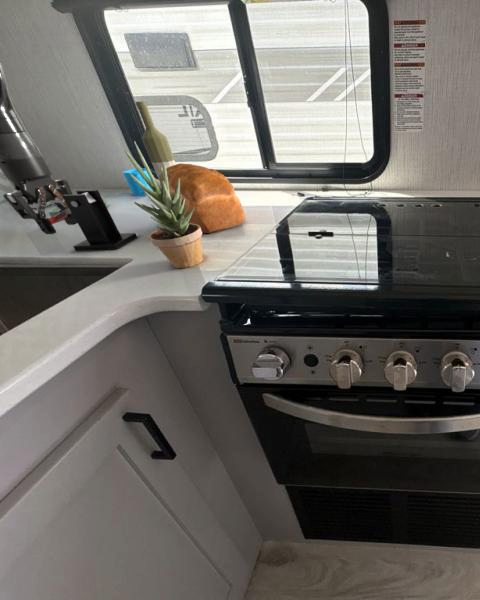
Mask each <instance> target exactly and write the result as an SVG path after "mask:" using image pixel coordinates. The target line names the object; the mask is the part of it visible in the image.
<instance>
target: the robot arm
mask: <svg viewBox="0 0 480 600" xmlns="http://www.w3.org/2000/svg"><path fill="white" fill-rule="evenodd" d="M0 170H1V172H2V174H3V175H4V177H5V178H6V180H7V179H8V180H10V181H11V182H13V183H14V186H15V191H14V190H13V191H11V192H5V193H3V195H2V196H3V198H4V199H5V200H6V201H7V202H8V203H9V205H10V206H11V207H12V208H13V210H14V211H15V212H16V213H17V214H18V215H19V216H20V218H22V219H23V220H34V221H35V223H36V224H37V226H38V227H39V229H40V230H41V232H42V233H44V234H45V235H55V234H56V233H57V230H56V229H55V227H54V224H51V222H50V220H49V219H48V218H49V217H47V214H46V213H47V212H46V209H47V206H46V203H47V202H50V203H51V204H52V205H53V206H54V207H55V208H56V207H57V208H58V209H61V210H59V212H60V213H61V212H62V211H64V210H65V209H67V208H68V206H67V204H66V202H65V200H64V199H63V197H62V196H63V195H73V194H74V193H73V192H72V188H71V186H70V184H69V181H68V180H67V179H64V178H63V179H54V178H52V175H53V172H52V170H51V168H50V166H49V165H48V163H47V162H46V160H45V158H44V155H43V154H42V153H41V150H40V149H39V147H38V145H37V143H36V142H35V140H34V139H33V138H32V136H31V135H30V134H29V132H28V131H27V128H26V127H25V125H24V124H23V122H22V120H21V118H20V117H19V115H18V113H17V110H16V109H15V107H14V104H13V101H12V98H11V95H10V91H9V88H8V83H7V78H6V73H5V69H4V66H3V64H2V63H1V61H0ZM33 203H36V204H37V205H34V204H33ZM67 216H68V218H67V219H64V220H63V221H64V222H65V224H66V225H68V226H75V225H78V223H77V221H76V220H75V218H74V216H73V214H72V213H70V214H68V215H67Z"/></svg>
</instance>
